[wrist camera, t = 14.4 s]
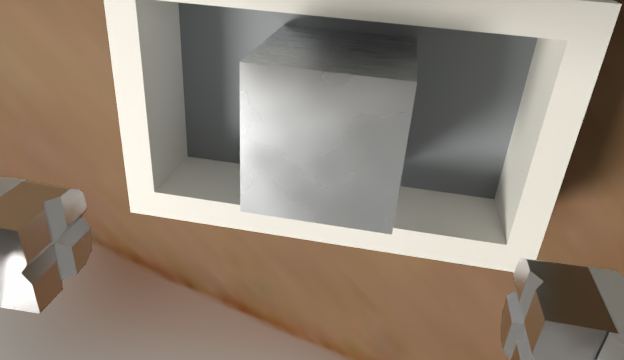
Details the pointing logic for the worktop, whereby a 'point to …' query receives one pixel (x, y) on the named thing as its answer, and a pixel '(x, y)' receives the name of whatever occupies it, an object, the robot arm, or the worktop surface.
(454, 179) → the holder
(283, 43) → the steel block
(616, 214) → the worktop surface
